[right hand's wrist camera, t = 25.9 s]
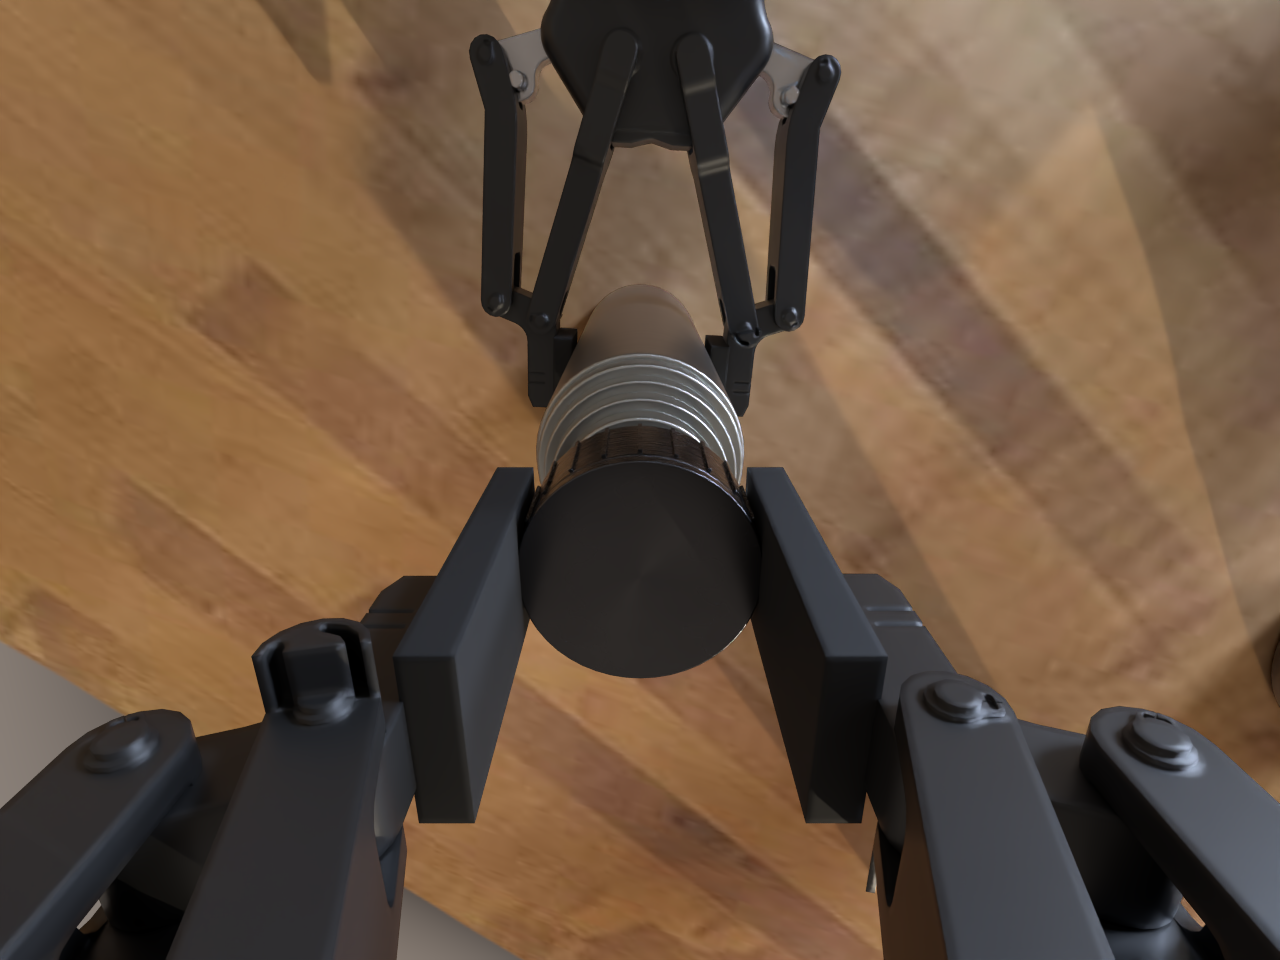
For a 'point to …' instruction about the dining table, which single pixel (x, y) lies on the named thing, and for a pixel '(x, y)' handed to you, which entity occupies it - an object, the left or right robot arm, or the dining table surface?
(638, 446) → the cap
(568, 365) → the bottle
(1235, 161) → the dining table surface
